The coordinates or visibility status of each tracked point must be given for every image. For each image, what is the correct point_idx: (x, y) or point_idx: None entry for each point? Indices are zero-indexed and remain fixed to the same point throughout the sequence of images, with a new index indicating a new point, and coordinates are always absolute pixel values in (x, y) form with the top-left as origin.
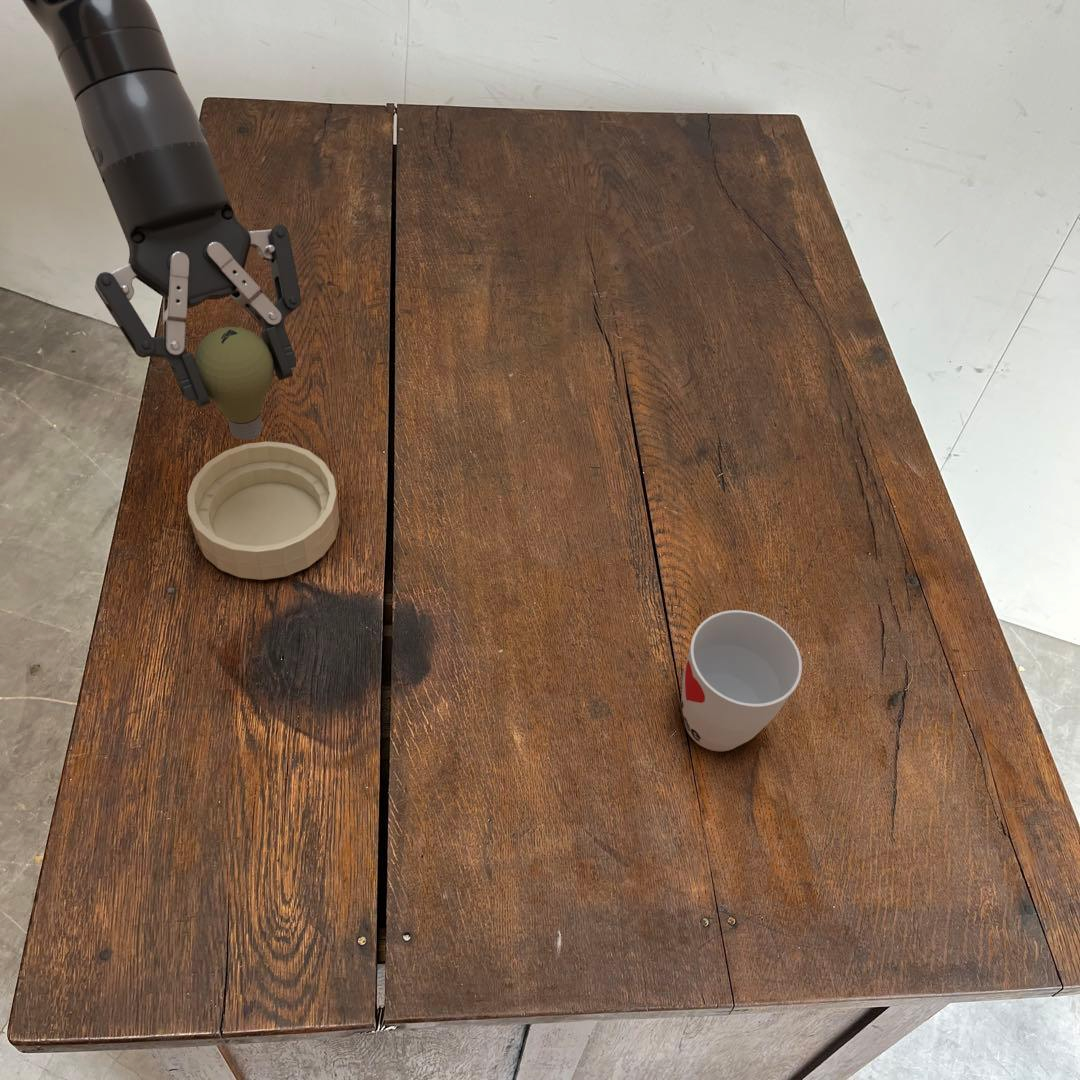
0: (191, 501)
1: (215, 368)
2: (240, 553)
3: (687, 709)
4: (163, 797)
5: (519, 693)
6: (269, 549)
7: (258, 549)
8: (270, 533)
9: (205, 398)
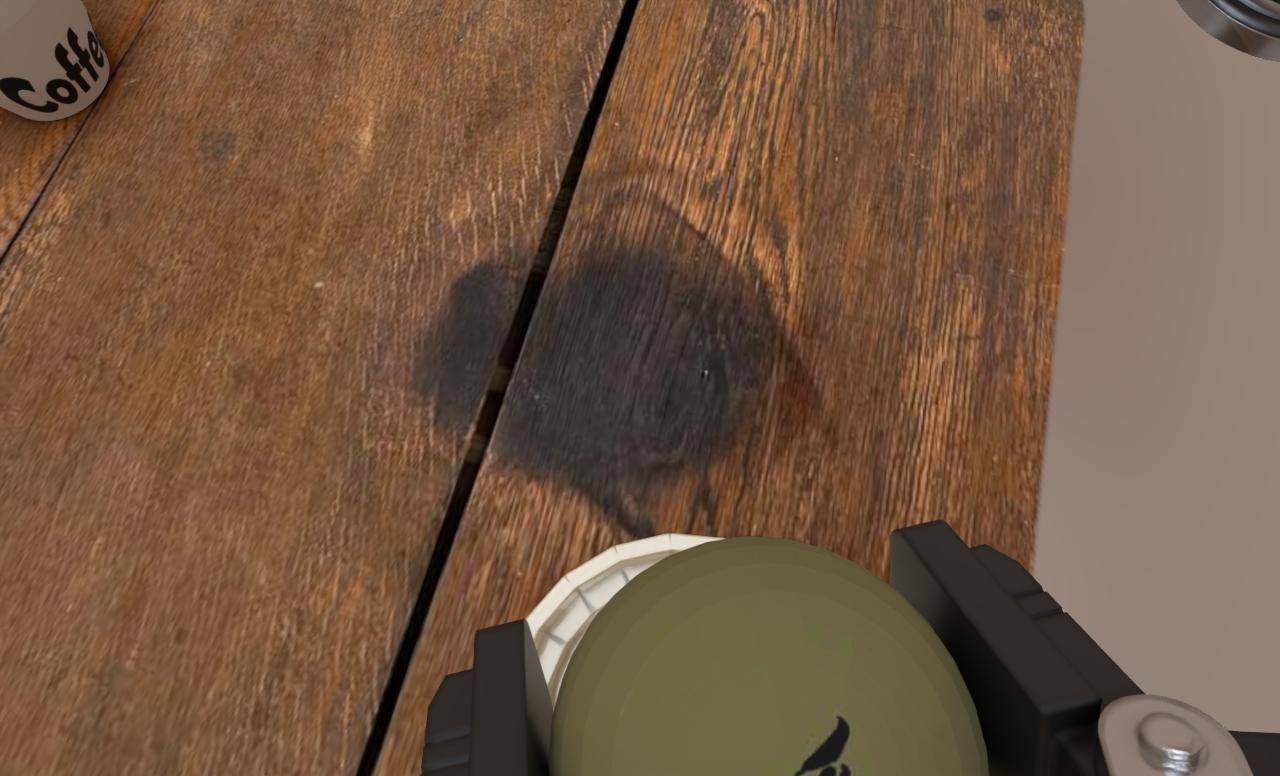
0: None
1: (882, 603)
2: None
3: (67, 3)
4: (920, 186)
5: (326, 202)
6: (695, 536)
7: None
8: None
9: (918, 529)
